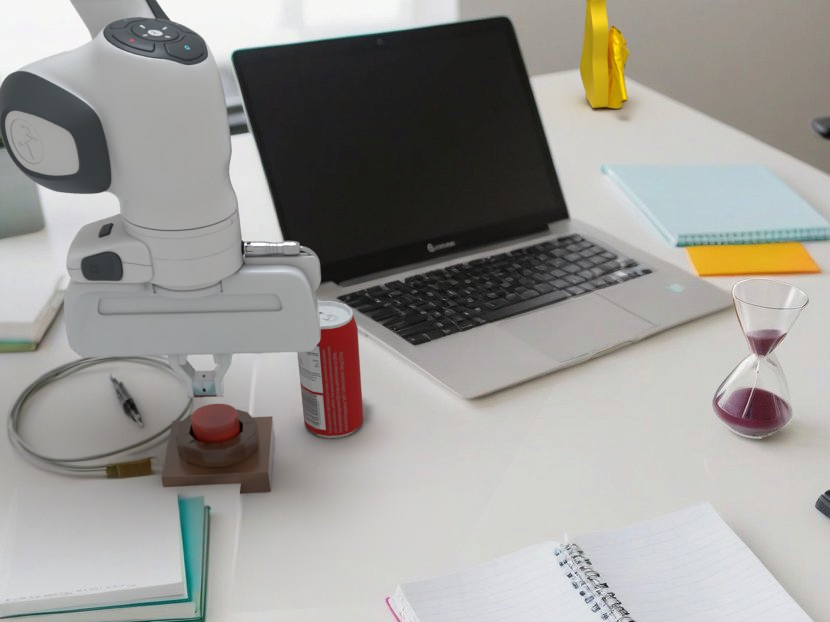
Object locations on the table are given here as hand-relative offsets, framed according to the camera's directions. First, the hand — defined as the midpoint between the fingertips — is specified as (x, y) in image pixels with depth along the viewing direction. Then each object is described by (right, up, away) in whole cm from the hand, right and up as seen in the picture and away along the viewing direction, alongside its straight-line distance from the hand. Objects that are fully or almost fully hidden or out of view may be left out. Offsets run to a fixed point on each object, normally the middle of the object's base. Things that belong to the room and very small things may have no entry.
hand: (206, 393), depth 99 cm
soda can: (+9, -2, +11) cm, 14 cm away
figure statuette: (+41, +56, +89) cm, 113 cm away
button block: (0, -6, +5) cm, 8 cm away
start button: (0, -3, +3) cm, 4 cm away
